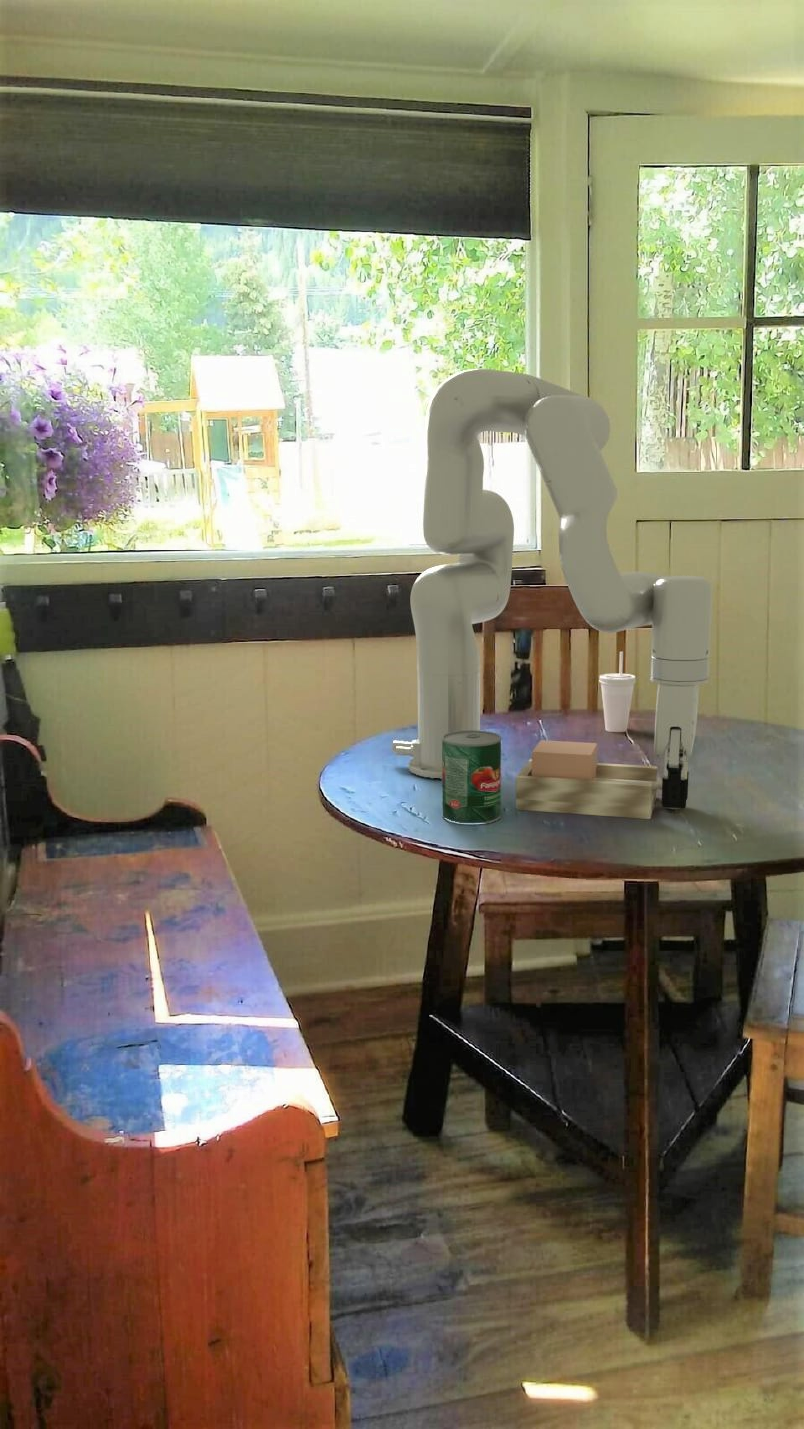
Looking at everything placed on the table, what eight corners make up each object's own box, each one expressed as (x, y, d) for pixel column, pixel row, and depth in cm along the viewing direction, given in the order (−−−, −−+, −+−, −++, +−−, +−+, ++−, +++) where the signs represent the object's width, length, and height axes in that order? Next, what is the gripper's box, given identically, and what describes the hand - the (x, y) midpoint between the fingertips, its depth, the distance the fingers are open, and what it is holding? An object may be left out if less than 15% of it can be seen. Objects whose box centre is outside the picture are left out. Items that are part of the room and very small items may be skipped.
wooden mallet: (531, 803, 158) (532, 751, 156) (539, 789, 164) (540, 740, 163) (684, 813, 152) (686, 760, 151) (687, 799, 159) (689, 748, 157)
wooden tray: (515, 809, 157) (516, 777, 156) (529, 788, 167) (530, 758, 166) (650, 819, 152) (651, 786, 151) (656, 797, 162) (657, 766, 161)
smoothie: (637, 733, 200) (640, 654, 197) (600, 734, 201) (602, 654, 198) (630, 725, 207) (633, 648, 204) (595, 726, 207) (597, 649, 204)
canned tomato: (498, 826, 149) (498, 744, 147) (438, 824, 151) (437, 742, 148) (503, 809, 157) (503, 731, 155) (446, 807, 158) (445, 729, 156)
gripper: (655, 659, 161) (651, 785, 165) (645, 679, 145) (641, 818, 149) (710, 661, 159) (705, 789, 162) (706, 682, 143) (700, 823, 147)
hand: (674, 802), depth 156 cm, fingers closed on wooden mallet, 3 cm apart
